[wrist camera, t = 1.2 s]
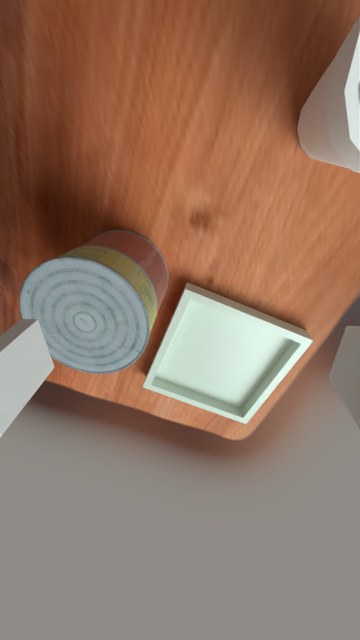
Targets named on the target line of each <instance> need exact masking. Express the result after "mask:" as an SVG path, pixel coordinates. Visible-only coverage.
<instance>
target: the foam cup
mask: <svg viewBox="0 0 360 640" xmlns="http://www.w3.org/2000/svg"><path fill="white" fill-rule="evenodd" d="M297 132H298V137H299V142H300V147H301V148H302V149H303V150H304V151H305V153H306V154H307V155H308V156H309V157H310V158H313V159H316V160H319V161H322V162H326V163H330V164H334V165H338V166H342V167H346V168H350V169H351V170H352V171H354V172H358V173H360V15H359V17H358V19H357V20H356V22H355V24H354V25H353V27H352V29H351V30H350V32H349V34H348V35H347V37H346V39H345V40H344V42H343V44H342V45H341V47H340V49H339V50H338V52H337V55H336V56H335V58H334V59H333V61H332V62H331V64H330V65H329V67H328V68H327V70H326V71H325V73H324V74H323V76H322V77H321V79H320V80H319V82H318V83H317V85H316V86H315V88H314V89H313V91H312V92H311V94H310V96H309V97H308V99H307V101H306V102H305V104H304V106H303V108H302V109H301V112H300V117H299V122H298V127H297Z"/></svg>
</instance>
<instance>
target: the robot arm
mask: <svg viewBox="0 0 360 640" xmlns="http://www.w3.org/2000/svg"><path fill="white" fill-rule="evenodd" d="M53 368H54V365H53V362H52V359H51V356H50V353H49V350H48V347H47V344H46V341H45V339H44V336H43V333H42V330H41V327H40V324H39V321H38V319H21V320H20V321H18V322H17V323H16V324H15V325H13V326H12V327H11V328H10V329H8V330H7V331H6V332H5V333H3V334H2V335H1V336H0V437H1V436H2V434H3V433H4V432H5V430H6V429H7V428H8V427H9V425H10V424H11V422H12V421H13V420H14V419H15V418H16V416H17V415H18V414H19V412H20V411H21V410H22V409H23V407H24V406H25V405H26V403H27V402H28V401H29V399H30V398H31V397H32V395H33V394H34V393H35V392H36V390H37V389H38V388H39V387H40V385H41V384H42V383H43V381H44V380H45V379H46V377H47V376H48V375H49V374H50V372H51V371H52V370H53ZM329 379H330V381H331V383H332V384H333V386H334V388H335V389H336V391H337V393H338V394H339V396H340V397H341V399H342V401H343V402H344V404H345V406H346V407H347V409H348V410H349V412H350V414H351V415H352V417H353V419H354V420H355V422H356V423H357V425H358V427H359V428H360V326H347V327H346V329H345V332H344V335H343V338H342V340H341V343H340V346H339V349H338V352H337V354H336V357H335V360H334V363H333V366H332V369H331V371H330V374H329Z"/></svg>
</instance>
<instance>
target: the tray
mask: <svg viewBox="0 0 360 640" xmlns="http://www.w3.org/2000/svg"><path fill="white" fill-rule="evenodd" d="M312 342H313V339H312V338H311V336H310V335H309V333H308V332H307V330H304V329H302V328H299V327H297V326H294V325H292V324H289V323H287V322H284V321H282V320H280V319H277V318H275V317H272V316H270V315H267V314H265V313H262V312H260V311H257V310H255V309H252V308H250V307H248V306H245V305H243V304H240V303H238V302H235V301H233V300H230V299H228V298H225V297H223V296H221V295H218V294H216V293H213V292H211V291H208V290H206V289H203V288H201V287H198V286H196V285H193V284H191V283H189V282H186V285H185V287H184V289H183V292H182V294H181V296H180V299H179V301H178V303H177V306H176V308H175V310H174V313H173V315H172V317H171V320H170V322H169V324H168V327H167V329H166V331H165V334H164V336H163V338H162V341H161V343H160V345H159V348H158V350H157V352H156V355H155V357H154V359H153V362H152V364H151V366H150V368H149V371H148V373H147V375H146V378H145V381H144V385H143V387H144V388H146V389H149V390H152V391H155V392H158V393H160V394H163V395H166V396H169V397H172V398H174V399H177V400H180V401H183V402H186V403H188V404H191V405H194V406H197V407H200V408H202V409H205V410H208V411H211V412H214V413H216V414H219V415H222V416H225V417H228V418H230V419H233V420H236V421H239V422H242V423H244V424H246V423H247V422H248V421H249V420H250V419H251V417H252V416H253V415H254V414H255V412H256V411H257V410H258V409H259V407H260V406H261V405H262V404H263V402H264V401H265V400H266V399H267V397H268V396H269V395H270V394H271V392H272V391H273V390H274V389H275V388H276V386H277V385H278V384H279V383H280V381H281V380H282V379H283V378H284V376H285V375H286V374H287V373H288V371H289V370H290V369H291V368H292V366H293V365H294V364H295V363H296V361H297V360H298V359H299V358H300V357H301V355H302V354H303V353H304V352H305V350H306V349H307V348H308V347H309V345H310V344H311V343H312Z"/></svg>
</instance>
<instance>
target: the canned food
mask: <svg viewBox="0 0 360 640" xmlns="http://www.w3.org/2000/svg"><path fill="white" fill-rule="evenodd" d="M168 283H169V275H168V269H167V265H166V263H165V260H164V258H163V256H162V255H161V253H160V252H159V250H158V249H157V248H156V247H155V246H154V245H153V244H152V243H151V242H150V241H149V240H147V239H146V238H144V237H143V236H141V235H139V234H136V233H134V232H130V231H125V230H112V231H107V232H105V233H102V234H100V235H98V236H97V237H95V238H94V239H92V240H90V241H88V242H86V243H84V244H82V245H80V246H78V247H76V248H74V249H72V250H70V251H69V252H67V253H65V254H63V255H61V256H59V257H57V258H54V259H51V260H48V261H46V262H44V263H42V264H40V265H39V266H37V267H36V268H35V269H33V270H32V271H31V272H30V274H29V275H28V276H27V278H26V279H25V281H24V283H23V285H22V288H21V292H20V300H19V302H20V312H21V316H22V319H38V321H39V324H40V327H41V330H42V333H43V336H44V339H45V341H46V344H47V347H48V350H49V353H50V356H51V357H52V358H53V359H55V360H56V361H58V362H60V363H61V364H63V365H65V366H67V367H70V368H72V369H75V370H78V371H82V372H87V373H94V374H106V373H112V372H117V371H120V370H122V369H125V368H127V367H128V366H130V365H132V364H133V363H134V362H135V361H137V360H138V358H139V357H140V356H141V355H142V353H143V352H144V350H145V348H146V346H147V343H148V340H149V335H150V332H151V330H152V327H153V324H154V322H155V319H156V316H157V314H158V311H159V308H160V306H161V303H162V301H163V299H164V297H165V295H166V292H167V289H168Z"/></svg>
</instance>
